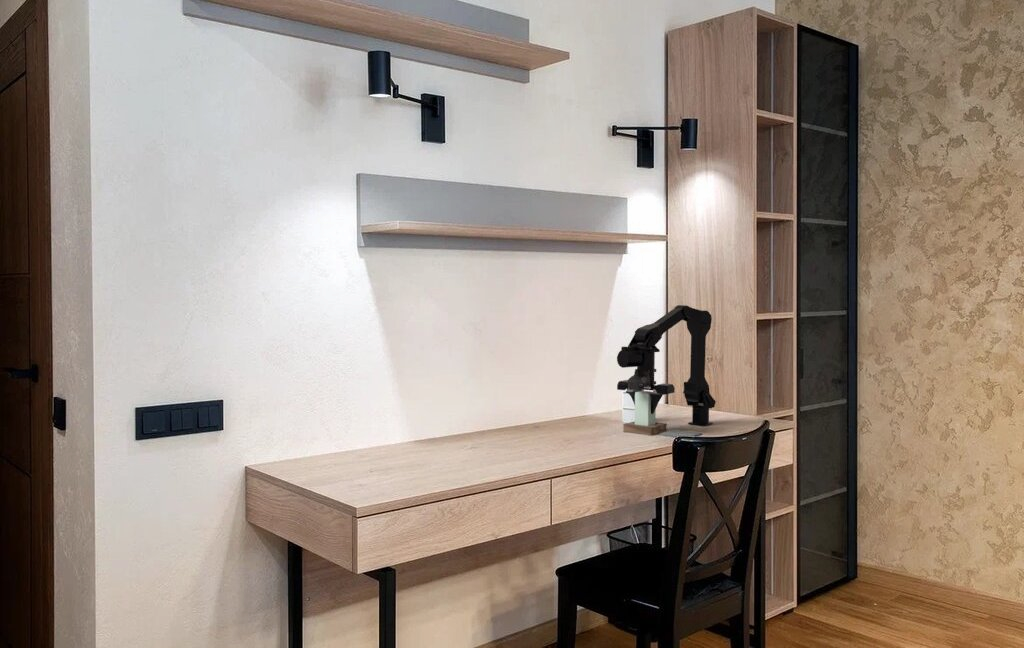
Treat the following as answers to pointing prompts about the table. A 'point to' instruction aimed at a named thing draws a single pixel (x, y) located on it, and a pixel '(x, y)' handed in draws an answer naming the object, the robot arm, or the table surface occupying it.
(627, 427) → the pocket block
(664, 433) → the mat
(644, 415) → the sage block
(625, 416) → the syrup box
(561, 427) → the table surface
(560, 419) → the table surface
